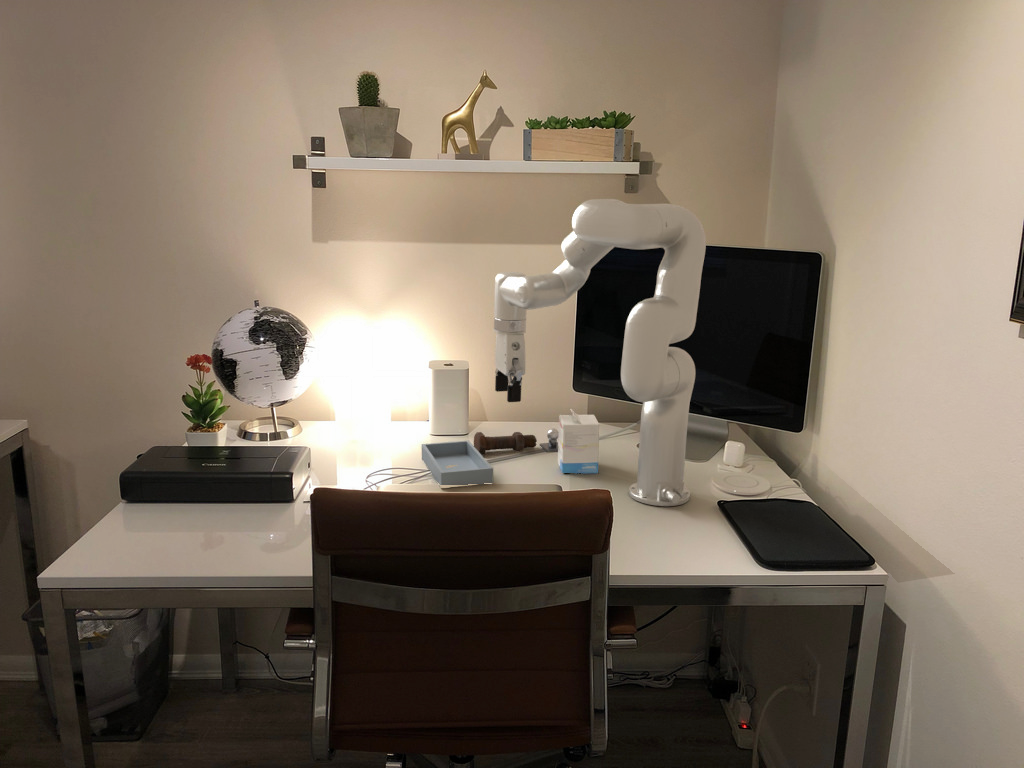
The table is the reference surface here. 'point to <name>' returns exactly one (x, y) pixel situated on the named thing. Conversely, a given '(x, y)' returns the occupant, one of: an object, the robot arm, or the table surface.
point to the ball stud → (551, 441)
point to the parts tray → (456, 463)
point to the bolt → (503, 442)
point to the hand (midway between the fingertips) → (507, 396)
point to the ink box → (578, 443)
